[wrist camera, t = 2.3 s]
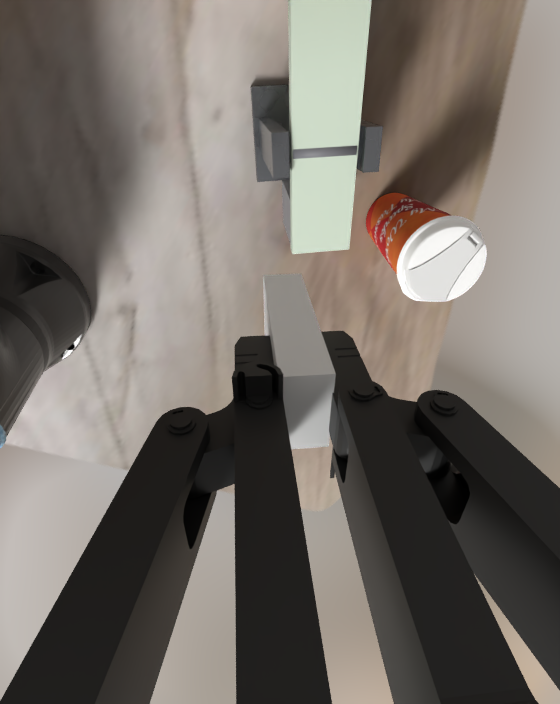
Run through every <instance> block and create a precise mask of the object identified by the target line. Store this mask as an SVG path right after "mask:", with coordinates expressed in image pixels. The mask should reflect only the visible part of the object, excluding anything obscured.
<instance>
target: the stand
mask: <svg viewBox="0 0 560 704" xmlns="http://www.w3.org/2000/svg"><path fill="white" fill-rule="evenodd" d="M251 101H252V115H253V130H254V145H255V160H256V175H257V182H262V181H277V180H289V179H290V130H289V85H271V86H251ZM382 130H383V126H380V125H377V124H374V123H371V122H368V121H364V120H361V123H360V134H359V145H358V156H357V167H356V168H357V169H359V170H360V171H362V172H363V173H364V172H379V163H380V152H381V141H382Z"/></svg>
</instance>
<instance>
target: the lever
mask: <svg viewBox="0 0 560 704" xmlns="http://www.w3.org/2000/svg"><path fill="white" fill-rule="evenodd" d="M371 1H372V0H288V33H289V130H290V179H289V180H282V198H283V223H284V226H285V229H286V232H287V235H288V238H289V242H290V245H291V251H292V254H299V253H311V252H323V251H335V250H347V249H349V245H350V234H351V223H352V212H353V201H354V189H355V178H356V167H357V156H358V145H359V134H360V123H361V112H362V101H363V89H364V78H365V67H366V56H367V45H368V34H369V23H370V12H371Z"/></svg>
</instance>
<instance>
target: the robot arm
mask: <svg viewBox="0 0 560 704" xmlns="http://www.w3.org/2000/svg"><path fill="white" fill-rule="evenodd" d="M263 287H264V329H265V336H248V337H240V339H239V340H238V342H237V343H236V344H235V371H234V373H233V376H232V384H233V396H234V398H233V400H232V402H231V403H230V404H229V405H228V406H227V407H225V408H224V409H222V410H220V411H217V412H215V413H212V414H208V415H205V413H203V412H202V411H201V410H199V409H196V408H192V407H180V408H176V409H173V410H170V411H168V412H167V413H165V414H163V415H162V416H161V417H160V418H159V419H158V421H157V422H156V424H155V425H154V427H153V429H152V431H151V432H150V434H149V436H148V438H147V440H146V441H145V443H144V445H143V447H142V449H141V450H140V452H139V454H138V456H137V457H136V459H135V461H134V463H133V465H132V466H131V468H130V470H129V472H128V474H127V475H126V477H125V479H124V481H123V483H122V484H121V486H120V488H119V490H118V492H117V493H116V495H115V497H114V499H113V500H112V502H111V504H110V506H109V508H108V509H107V511H106V513H105V515H104V517H103V518H102V520H101V522H100V524H99V525H98V527H97V529H96V531H95V533H94V535H93V536H92V538H91V540H90V542H89V543H88V545H87V547H86V549H85V550H84V552H83V554H82V556H81V558H80V560H79V561H78V563H77V565H76V567H75V568H74V570H73V572H72V574H71V576H70V577H69V579H68V581H67V583H66V584H65V586H64V588H63V590H62V592H61V593H60V595H59V597H58V599H57V601H56V602H55V604H54V606H53V608H52V610H51V611H50V613H49V615H48V617H47V618H46V620H45V622H44V624H43V626H42V627H41V629H40V631H39V633H38V635H37V636H36V638H35V640H34V642H33V644H32V646H31V647H30V649H29V651H28V653H27V654H26V656H25V658H24V660H23V661H22V663H21V665H20V667H19V669H18V670H17V672H16V674H15V676H14V678H13V680H12V681H11V683H10V685H9V686H8V688H7V690H6V692H5V694H4V696H3V697H2V699H1V701H0V704H150V700H151V697H152V694H153V691H154V688H155V685H156V682H157V678H158V675H159V672H160V669H161V666H162V663H163V659H164V657H165V653H166V650H167V647H168V644H169V641H170V637H171V635H172V632H173V628H174V625H175V622H176V619H177V616H178V613H179V610H180V606H181V603H182V600H183V597H184V594H185V590H186V588H187V585H188V581H189V578H190V575H191V572H192V569H193V566H194V563H195V559H196V556H197V553H198V550H199V547H200V544H201V541H202V538H203V535H204V531H205V528H206V525H207V522H208V519H209V516H210V513H211V509H212V506H213V503H214V500H215V497H216V492H217V490H219V489H222V488H224V487H227V486H230V485H232V484H235V577H236V578H235V586H236V694H237V695H236V699H237V701H236V704H332V701H331V694H330V688H329V682H328V676H327V670H326V664H325V657H324V651H323V644H322V639H321V632H320V626H319V619H318V614H317V608H316V601H315V595H314V589H313V583H312V576H311V570H310V563H309V558H308V551H307V545H306V538H305V533H304V526H303V520H302V513H301V507H300V501H299V495H298V488H297V482H296V476H295V470H294V464H293V457H292V451H291V449H301V448H314V447H328V446H329V438H330V437H331V440H332V444H333V451H332V460H331V470H330V478H334V474H336V478H337V482H338V486H339V489H340V493H341V497H342V501H343V505H344V509H345V513H346V517H347V521H348V524H349V529H350V533H351V537H352V540H353V544H354V548H355V552H356V556H357V560H358V564H359V568H360V572H361V576H362V580H363V583H364V588H365V592H366V595H367V600H368V603H369V607H370V611H371V615H372V619H373V623H374V627H375V631H376V635H377V639H378V643H379V647H380V651H381V655H382V658H383V662H384V666H385V670H386V674H387V678H388V682H389V686H390V690H391V694H392V698H393V701H394V704H538V702H537V701H536V700H535V698H534V696H533V695H532V693H531V691H530V689H529V688H528V686H527V683H526V681H525V679H524V677H523V675H522V673H521V671H520V669H519V667H518V665H517V663H516V661H515V658H514V656H513V654H512V652H511V650H510V648H509V646H508V644H507V642H506V640H505V638H504V636H503V634H502V632H501V629H500V627H499V625H498V623H497V621H496V619H495V617H494V615H493V613H492V611H491V609H490V606H489V605H488V603H487V601H486V598H485V596H484V594H483V592H482V590H481V588H480V586H479V584H478V582H477V580H476V577H477V578H478V579H479V581H480V582H481V583H482V585H483V586H484V588H485V589H486V590H487V592H488V593H489V594H490V596H491V597H492V599H493V600H494V601H495V602H496V604H497V605H498V607H499V608H500V609H501V611H502V612H503V614H504V615H505V616H506V618H507V619H508V620H509V622H510V623H511V625H512V626H513V627H514V629H515V630H516V631H517V633H518V634H519V635H520V637H521V638H522V639H523V641H524V642H525V644H526V645H527V646H528V648H529V649H530V650H531V652H532V653H533V655H534V656H535V657H536V659H537V660H538V661H539V663H540V664H541V665H542V667H543V668H544V670H545V671H546V672H547V673H548V675H549V676H550V678H551V679H552V681H553V682H554V683H555V685H556V686H557V687H558V689H559V690H560V488H559V487H558V486H557V485H556V484H554V483H553V482H552V481H551V480H550V479H549V478H548V477H547V476H546V475H545V474H543V473H542V472H541V471H540V470H539V469H538V468H537V467H536V466H535V465H534V464H533V463H531V462H530V461H529V460H528V459H527V458H526V457H525V456H524V455H523V454H522V453H520V451H518V450H517V449H516V448H515V447H514V446H513V445H512V444H511V443H510V442H509V441H508V440H506V439H505V438H504V437H503V436H502V435H501V434H500V433H499V432H498V431H496V429H494V428H493V427H492V426H491V425H490V424H489V423H488V422H487V421H486V420H485V419H484V418H483V417H481V416H480V415H479V414H478V413H477V412H476V411H475V410H474V409H473V408H472V407H471V406H469V405H468V404H467V403H466V402H465V401H464V400H462V399H461V398H460V397H458V396H457V395H454V394H452V393H449V392H447V391H440V390H432V391H427V392H424V393H422V394H421V395H420V397H419V398H418V400H417V402H412V401H406V400H400V399H396V398H392V397H390V396H388V394H387V392H386V391H385V390H384V388H383V387H382V386H380V385H379V384H377V383H376V382H373V381H372V380H371V378H370V376H369V373H368V371H367V369H366V367H365V365H364V362H363V360H362V358H361V357H360V354H359V351H358V349H357V347H356V345H355V343H354V341H353V338H351V337H350V336H349V335H348V334H346V333H345V332H344V331H327V332H321V330H320V327H319V324H318V321H317V318H316V315H315V312H314V309H313V307H312V304H311V301H310V298H309V295H308V292H307V289H306V286H305V283H304V280H303V278H302V275H301V274H276V275H263ZM90 317H91V308H90V302H89V298H88V295H87V292H86V290H85V288H84V286H83V284H82V283H81V281H80V280H79V278H78V277H77V275H76V274H75V273H74V272H73V271H72V269H71V268H70V267H69V266H68V265H67V264H66V263H64V262H63V261H62V260H61V259H60V258H58V257H57V256H56V255H54V254H53V253H51V252H50V251H48V250H46V249H44V248H43V247H41V246H39V245H37V244H34V243H32V242H29V241H26V240H23V239H20V238H15V237H10V236H2V235H0V448H1V447H2V446H3V445H4V443H5V441H6V437H7V435H8V433H9V431H10V430H11V428H12V426H13V424H14V423H15V421H16V419H17V417H18V415H19V414H20V412H21V410H22V408H23V407H24V405H25V403H26V401H27V400H28V398H29V396H30V394H31V393H32V391H33V389H34V387H35V386H36V384H37V382H38V380H39V379H40V377H41V375H42V374H43V372H44V371H46V370H47V369H49V368H50V367H52V366H54V365H55V364H57V363H58V362H60V361H61V360H63V359H65V358H66V357H67V356H69V355H70V354H71V353H72V352H73V351H74V350H75V349H76V348H77V347H78V345H79V344H80V343H81V341H82V339H83V337H84V335H85V333H86V331H87V329H88V327H89V323H90ZM474 574H475V575H476V577H475V575H474Z"/></svg>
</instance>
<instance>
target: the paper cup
mask: <svg viewBox="0 0 560 704" xmlns="http://www.w3.org/2000/svg"><path fill="white" fill-rule="evenodd" d="M366 227H367V230H368V233H369V235H370V237H371V238H372V240H373V241H374V243H375V244H376V246H377V247H378V249H379V250H380V251H381V253H382V254H383V256H384V257H385V259H386V260H387V261H388V263H389V264H390V266H391V267H392V268H393V270H394V271H395V273H396V274H397V277H398V281H399V283H400V286H401V289H402V291H403V293H404V294H406V295H407V296H408V297H410V298H411V299H413V300H416V301H431V302H443V301H449V300H452V299H455V298H456V297H458V296H460V295H462V294H463V293H465V292H466V291H467V290H468V289H470V288H471V287H472V286H473V284H475V282H476V281H477V280H478V278H479V276H480V275H481V273H482V271H483V268H484V266H485V262H486V256H487V252H486V246H485V242H484V238H483V235H482V233H481V231H480V229H479V228H478V226H477V225H476V224H475V223H473V222H472V221H471V220H469V219H467V218H464V217H461V216H452V215H450V214H448V213H446V212H443V211H441V210H439V209H436V208H434V207H431V206H429V205H427V204H425V203H423V202H420V201H418V200H416V199H414V198H411V197H409V196H407V195H404V194H401V193H389V194H386V195H383V196H381V197H380V198H378V199H377V200H376V201H375V202H374V203H373V204H372V206H371V207H370V209H369V211H368V214H367V218H366Z"/></svg>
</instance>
